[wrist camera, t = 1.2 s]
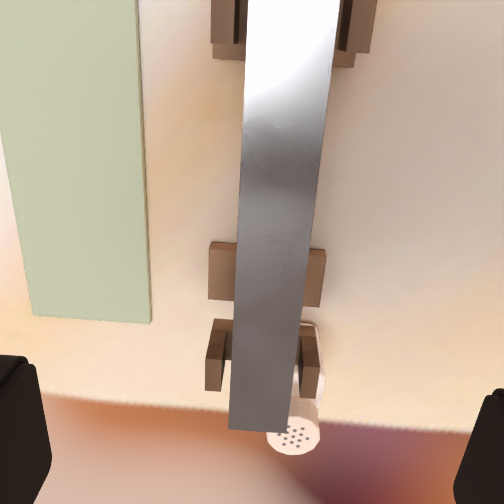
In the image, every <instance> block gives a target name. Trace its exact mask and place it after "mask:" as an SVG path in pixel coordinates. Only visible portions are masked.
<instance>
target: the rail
mask: <svg viewBox="0 0 504 504" xmlns="http://www.w3.org/2000/svg"><path fill="white" fill-rule="evenodd" d="M339 5H340V0H249V3H248V24H247V45H246V66H245V87H244V108H243V129H242V150H241V171H240V192H239V213H238V234H237V255H236V276H235V297H234V318H233V339H232V360H231V381H230V402H229V423H228V429H233V430H246V431H259V432H271V433H284V434H286V433H287V425H288V417H289V409H290V401H291V393H292V384H293V376H294V368H295V360H296V352H297V344H298V336H299V328H300V320H301V312H302V304H303V296H304V288H305V279H306V271H307V263H308V255H309V247H310V239H311V231H312V223H313V215H314V207H315V199H316V191H317V183H318V174H319V166H320V158H321V150H322V142H323V134H324V126H325V118H326V110H327V102H328V94H329V86H330V78H331V69H332V61H333V53H334V45H335V37H336V29H337V21H338V13H339Z"/></svg>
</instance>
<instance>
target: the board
mask: <svg viewBox="0 0 504 504" xmlns="http://www.w3.org/2000/svg"><path fill="white" fill-rule="evenodd" d="M0 133H1V139H2V145H3V150H4V156H5V161H6V167H7V173H8V178H9V184H10V189H11V195H12V201H13V206H14V212H15V217H16V223H17V229H18V234H19V240H20V245H21V251H22V256H23V262H24V268H25V273H26V279H27V284H28V290H29V296H30V301H31V307H32V312H33V316H45V317H58V318H72V319H85V320H98V321H112V322H125V323H138V324H150V323H151V321H152V314H151V292H150V270H149V248H148V225H147V203H146V181H145V159H144V136H143V114H142V92H141V70H140V47H139V25H138V3H137V0H0Z"/></svg>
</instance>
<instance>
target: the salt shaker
mask: <svg viewBox="0 0 504 504" xmlns="http://www.w3.org/2000/svg"><path fill="white" fill-rule="evenodd" d="M300 325H307V326H314V325H312V324H307V323H300ZM315 331H316V339H317V346H318V354H319V361H320V373H319V380H318V386H317V393H316V399H309V398H300V395H299V380H298V365H295V368H294V376H293V384H292V393H291V401H290V409H289V417H288V425H287V433H286V434H284V433H271V432H266V433H267V440H268V443H269V444H270V445H271V446H272V447H273V448H274V449H275V450H276V451H279V452H282V453H285V454H287V455H297V454H304V453H306V452H308V451H310V450H312V449H313V448H314V447H315V446H316V444H317V443H318V441H319V440H320V433H319V423H318V409H319V406H320V402H321V399H322V395H323V391H324V386H325V374H324V367H323V360H322V354H321V347H320V340H319V333H318V329H317V327H316V326H315Z"/></svg>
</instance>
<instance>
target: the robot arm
mask: <svg viewBox="0 0 504 504" xmlns="http://www.w3.org/2000/svg"><path fill="white" fill-rule="evenodd" d="M51 462H52V453H51V447H50V442H49V437H48V431H47V426H46V420H45V415H44V410H43V404H42V399H41V393H40V388H39V383H38V377H37V372H36V368H35V366H34V365H33V364H29V363H28V360H27V358H26V357H23V356H12V355H0V504H33V503H34V501H35V499H36V497H37V495H38V493H39V491H40V489H41V487H42V485H43V483H44V481H45V479H46V477H47V475H48V473H49V470H50V467H51ZM453 491H454V498H455V501H456V504H504V389H501V388H499V389H496V390H494V392H493V393H492V395H487V396H486V397H485V399H484V401H483V404H482V406H481V409H480V412H479V415H478V417H477V420H476V423H475V426H474V428H473V431H472V434H471V437H470V440H469V442H468V445H467V448H466V451H465V453H464V456H463V459H462V462H461V464H460V467H459V470H458V473H457V475H456V478H455V481H454V486H453Z"/></svg>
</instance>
